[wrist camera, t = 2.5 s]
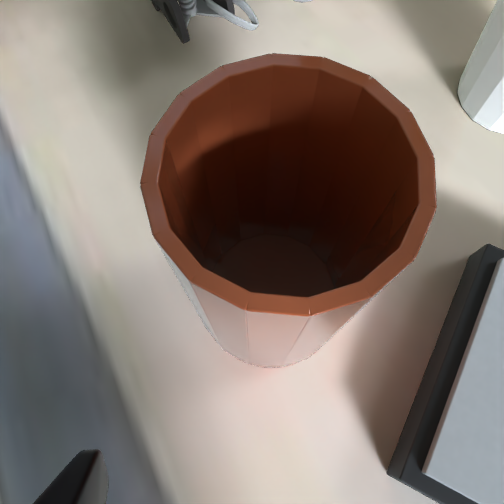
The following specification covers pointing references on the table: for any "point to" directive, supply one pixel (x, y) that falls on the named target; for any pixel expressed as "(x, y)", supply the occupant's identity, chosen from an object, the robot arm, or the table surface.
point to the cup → (286, 200)
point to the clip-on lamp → (204, 13)
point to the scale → (461, 397)
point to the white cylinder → (486, 75)
